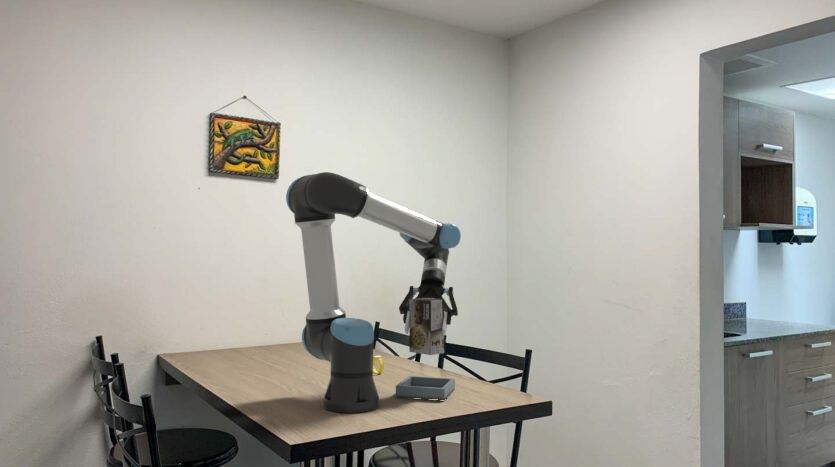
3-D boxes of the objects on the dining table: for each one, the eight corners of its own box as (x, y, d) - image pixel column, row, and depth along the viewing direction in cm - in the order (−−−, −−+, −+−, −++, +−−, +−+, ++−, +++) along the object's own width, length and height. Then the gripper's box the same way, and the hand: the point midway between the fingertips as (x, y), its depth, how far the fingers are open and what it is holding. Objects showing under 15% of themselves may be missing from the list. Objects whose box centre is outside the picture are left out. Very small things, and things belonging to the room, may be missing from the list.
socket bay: (444, 401, 174) (444, 389, 174) (395, 397, 178) (395, 385, 178) (454, 390, 188) (454, 378, 188) (409, 387, 192) (409, 375, 192)
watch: (385, 374, 212) (385, 357, 212) (378, 375, 210) (379, 358, 210) (375, 370, 217) (376, 354, 217) (368, 371, 215) (369, 354, 215)
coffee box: (445, 353, 183) (445, 299, 183) (430, 355, 178) (431, 300, 178) (422, 349, 189) (423, 297, 189) (408, 351, 184) (408, 298, 185)
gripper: (470, 284, 197) (464, 340, 181) (400, 283, 201) (388, 338, 185) (468, 268, 192) (463, 324, 176) (396, 267, 196) (385, 322, 180)
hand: (425, 331), depth 181 cm, fingers closed on coffee box, 11 cm apart
